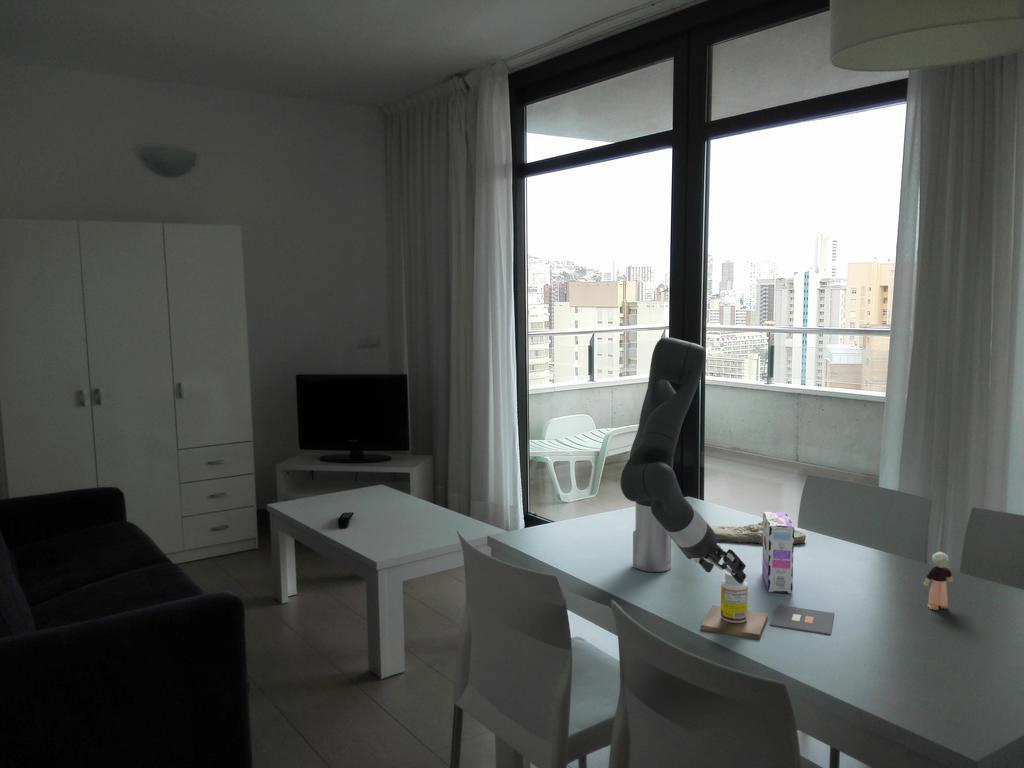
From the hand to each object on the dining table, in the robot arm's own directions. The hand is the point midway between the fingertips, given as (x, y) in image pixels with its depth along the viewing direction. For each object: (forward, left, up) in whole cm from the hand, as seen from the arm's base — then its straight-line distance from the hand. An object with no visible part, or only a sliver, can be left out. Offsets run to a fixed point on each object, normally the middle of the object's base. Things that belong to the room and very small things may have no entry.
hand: (726, 574), depth 167 cm
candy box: (+6, +32, -12) cm, 35 cm away
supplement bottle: (+1, +3, -11) cm, 11 cm away
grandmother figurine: (+41, +31, -12) cm, 53 cm away
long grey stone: (-7, +66, -12) cm, 67 cm away
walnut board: (+1, +3, -12) cm, 12 cm away
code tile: (+14, +11, -12) cm, 21 cm away
